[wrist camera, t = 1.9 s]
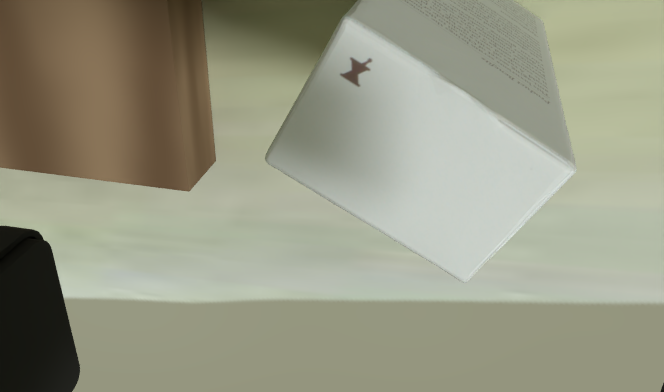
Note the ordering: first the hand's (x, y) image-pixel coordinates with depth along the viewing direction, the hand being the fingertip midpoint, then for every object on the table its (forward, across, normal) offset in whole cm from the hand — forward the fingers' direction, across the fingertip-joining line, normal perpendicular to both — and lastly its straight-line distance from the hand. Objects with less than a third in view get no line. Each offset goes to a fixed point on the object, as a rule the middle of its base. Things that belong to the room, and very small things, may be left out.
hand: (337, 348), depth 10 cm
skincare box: (+18, -1, -1) cm, 18 cm away
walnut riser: (+18, +16, 0) cm, 24 cm away
